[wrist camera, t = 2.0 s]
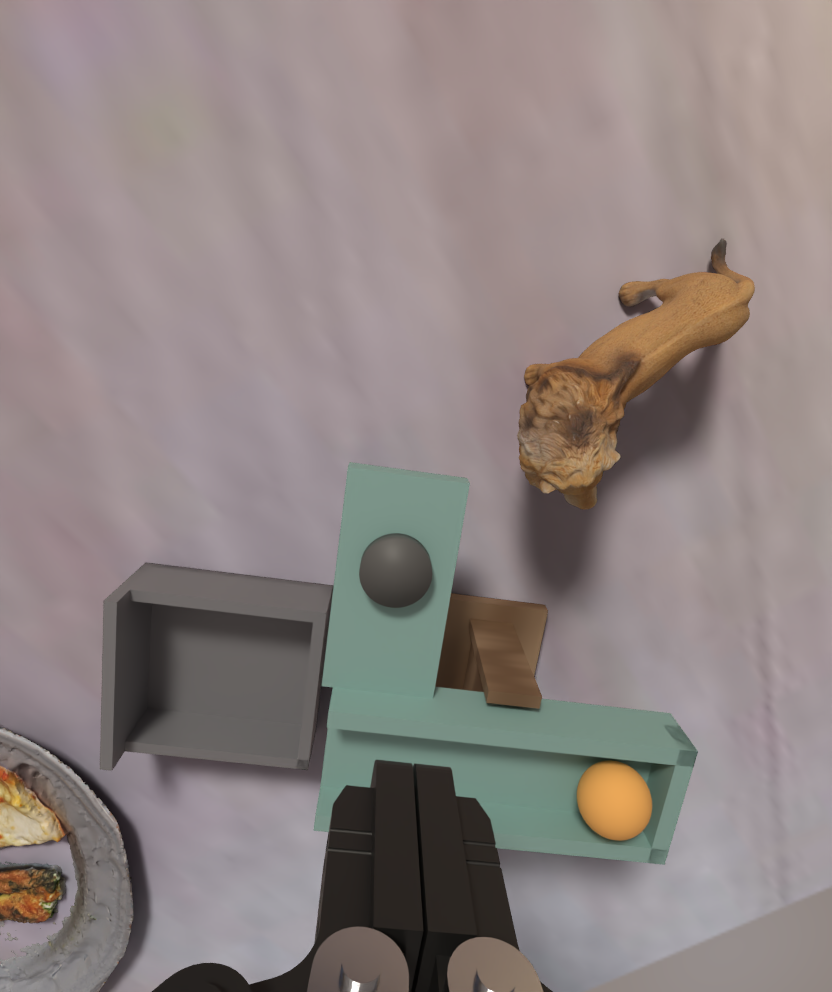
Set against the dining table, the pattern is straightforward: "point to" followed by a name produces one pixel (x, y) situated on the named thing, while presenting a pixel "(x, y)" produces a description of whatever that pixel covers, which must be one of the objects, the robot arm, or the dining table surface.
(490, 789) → the lever
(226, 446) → the dining table surface
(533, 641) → the fulcrum
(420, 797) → the robot arm
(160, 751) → the tray
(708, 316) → the lion figurine
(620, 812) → the ball
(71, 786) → the food plate
